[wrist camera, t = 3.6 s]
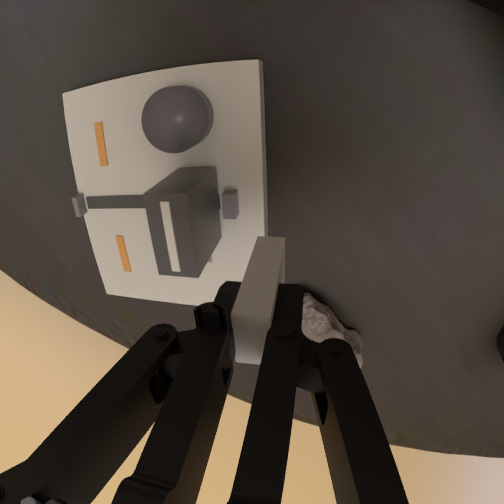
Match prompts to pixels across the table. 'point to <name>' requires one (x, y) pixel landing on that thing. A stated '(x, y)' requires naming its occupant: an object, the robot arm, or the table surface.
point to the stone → (327, 326)
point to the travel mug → (501, 343)
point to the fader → (184, 220)
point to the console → (169, 168)
